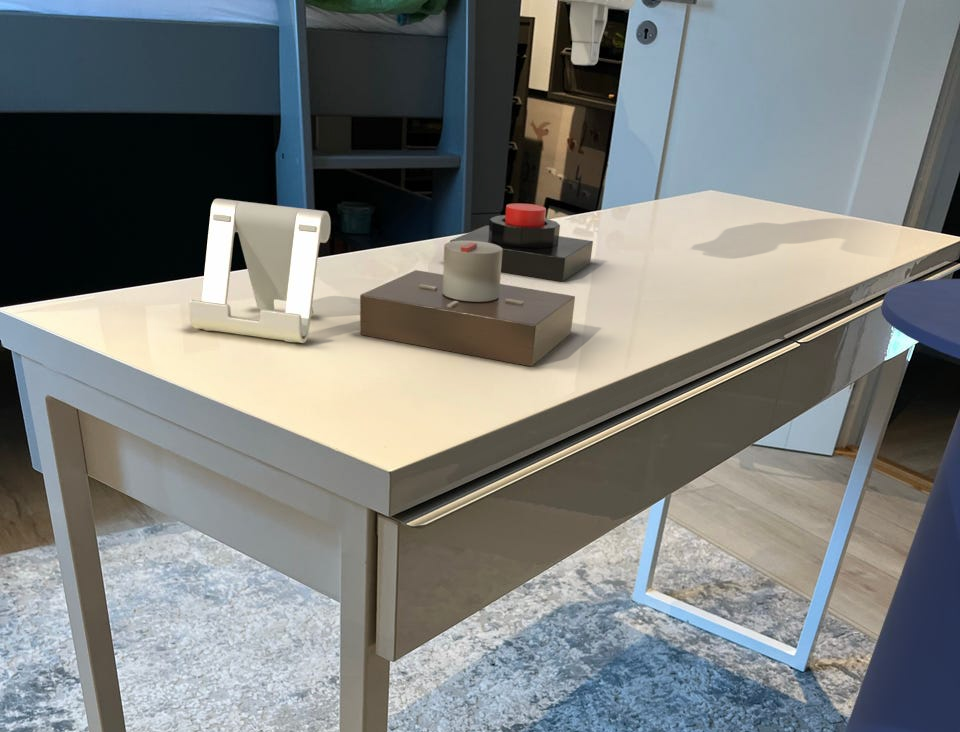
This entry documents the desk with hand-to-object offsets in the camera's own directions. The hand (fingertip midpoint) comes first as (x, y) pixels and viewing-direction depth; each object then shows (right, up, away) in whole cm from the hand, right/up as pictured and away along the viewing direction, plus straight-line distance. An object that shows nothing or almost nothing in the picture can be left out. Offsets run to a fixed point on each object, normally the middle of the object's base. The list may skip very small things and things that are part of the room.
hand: (584, 65), depth 88 cm
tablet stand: (-26, -29, -14) cm, 41 cm away
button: (-5, -11, +8) cm, 15 cm away
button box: (-5, -14, +10) cm, 18 cm away
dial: (-10, -26, -14) cm, 32 cm away
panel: (-11, -29, -12) cm, 33 cm away
